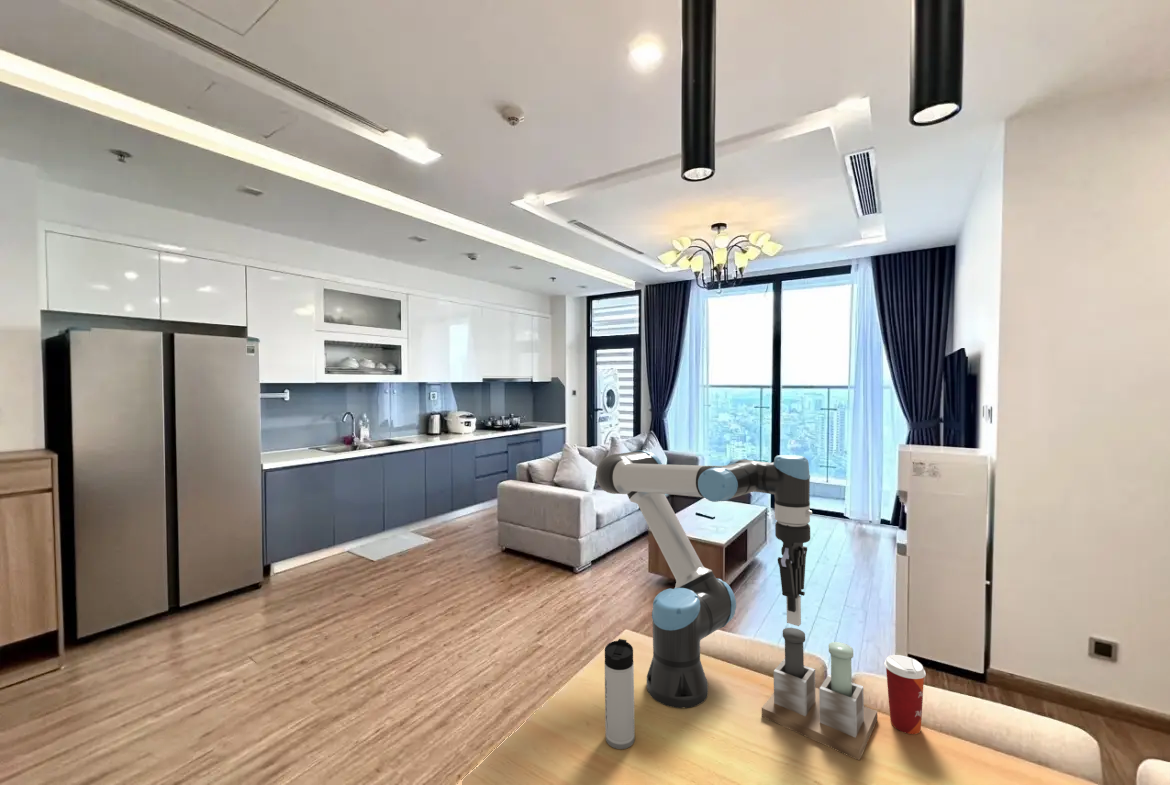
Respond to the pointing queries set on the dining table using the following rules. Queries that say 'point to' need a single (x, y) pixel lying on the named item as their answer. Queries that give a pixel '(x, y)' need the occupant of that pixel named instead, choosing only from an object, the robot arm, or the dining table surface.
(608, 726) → the travel mug
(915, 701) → the paper cup
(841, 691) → the sage plug
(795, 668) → the gray plug
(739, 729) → the dining table surface
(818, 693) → the socket board
